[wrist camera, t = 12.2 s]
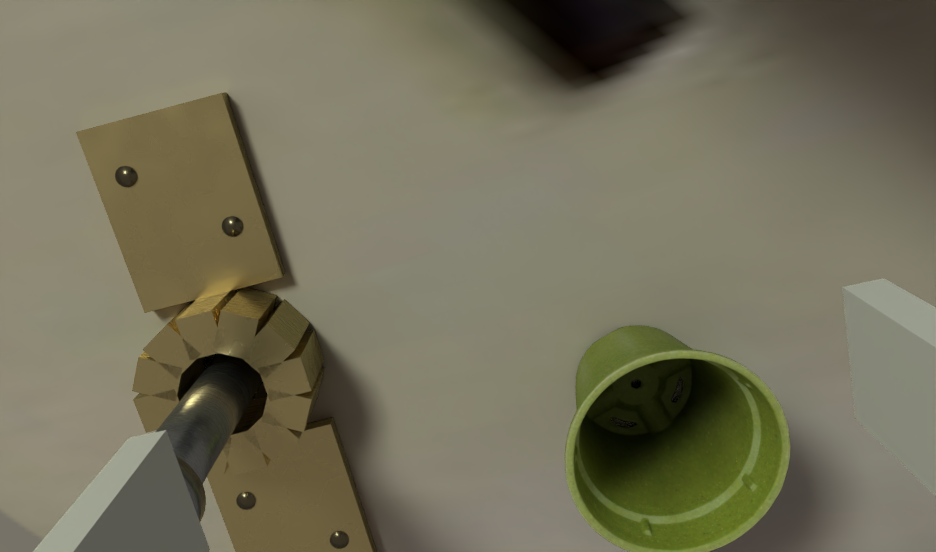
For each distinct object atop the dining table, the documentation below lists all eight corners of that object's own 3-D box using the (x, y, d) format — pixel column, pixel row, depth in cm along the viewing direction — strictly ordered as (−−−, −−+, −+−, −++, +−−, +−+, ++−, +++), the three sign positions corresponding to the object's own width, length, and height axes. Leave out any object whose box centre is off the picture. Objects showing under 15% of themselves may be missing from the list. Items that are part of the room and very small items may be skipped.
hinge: (73, 133, 38) (30, 141, 34) (236, 89, 37) (212, 92, 34) (249, 595, 44) (230, 646, 40) (389, 561, 44) (384, 609, 40)
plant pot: (524, 446, 42) (543, 540, 34) (563, 277, 40) (594, 333, 32) (695, 474, 43) (755, 574, 35) (743, 309, 41) (819, 373, 32)
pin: (194, 338, 40) (66, 477, 27) (266, 320, 40) (174, 450, 27) (219, 406, 41) (108, 573, 28) (289, 388, 41) (212, 547, 28)
